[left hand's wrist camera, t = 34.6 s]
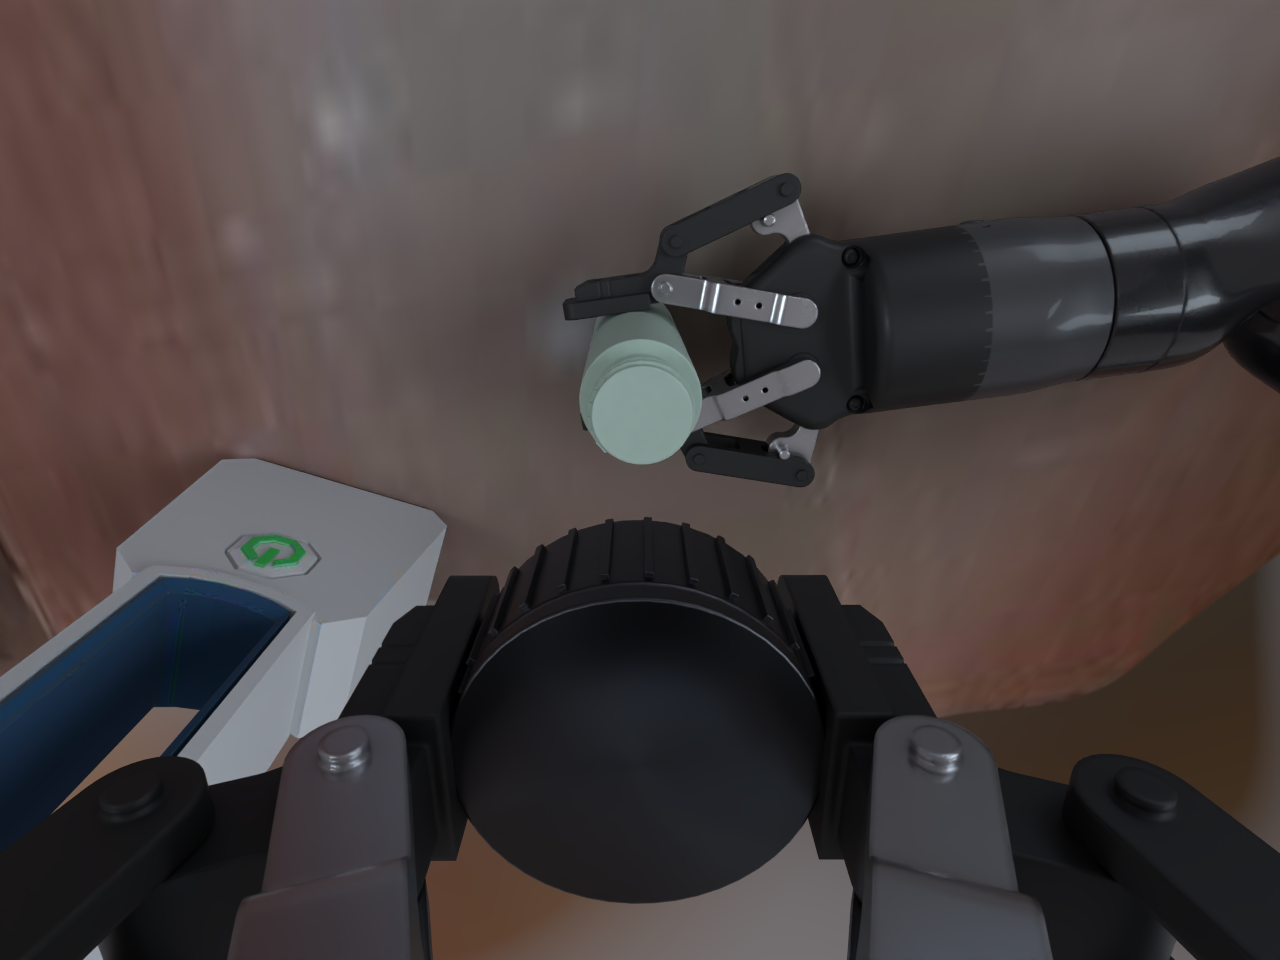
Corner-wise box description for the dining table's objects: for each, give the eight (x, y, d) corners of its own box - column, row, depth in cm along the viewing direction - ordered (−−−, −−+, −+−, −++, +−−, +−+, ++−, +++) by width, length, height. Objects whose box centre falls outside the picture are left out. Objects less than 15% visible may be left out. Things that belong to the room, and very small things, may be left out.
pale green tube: (640, 274, 38) (653, 322, 22) (691, 338, 39) (735, 426, 24) (577, 326, 38) (547, 407, 23) (628, 388, 40) (632, 503, 24)
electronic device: (453, 512, 42) (88, 1133, 14) (425, 619, 45) (67, 1327, 17) (234, 447, 41) (-662, 994, 13) (217, 562, 43) (-560, 1231, 15)
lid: (466, 761, 12) (428, 885, 10) (496, 488, 10) (459, 562, 8) (756, 802, 12) (781, 929, 10) (831, 541, 10) (881, 626, 8)
